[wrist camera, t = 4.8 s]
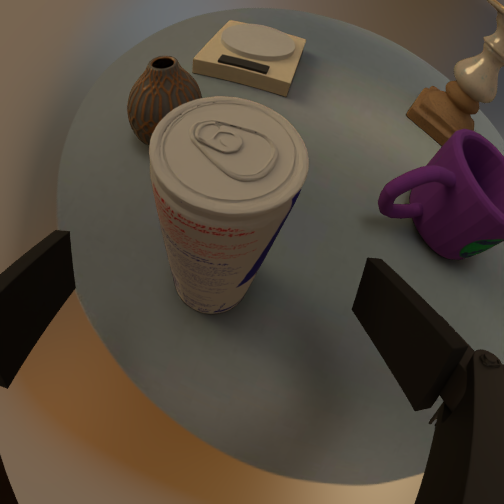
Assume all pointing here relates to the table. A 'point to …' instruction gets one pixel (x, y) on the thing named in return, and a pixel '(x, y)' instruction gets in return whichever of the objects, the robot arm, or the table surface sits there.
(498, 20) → the candle holder
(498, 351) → the table surface
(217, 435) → the table surface
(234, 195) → the beverage can
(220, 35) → the kitchen scale
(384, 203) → the mug
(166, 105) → the vase
